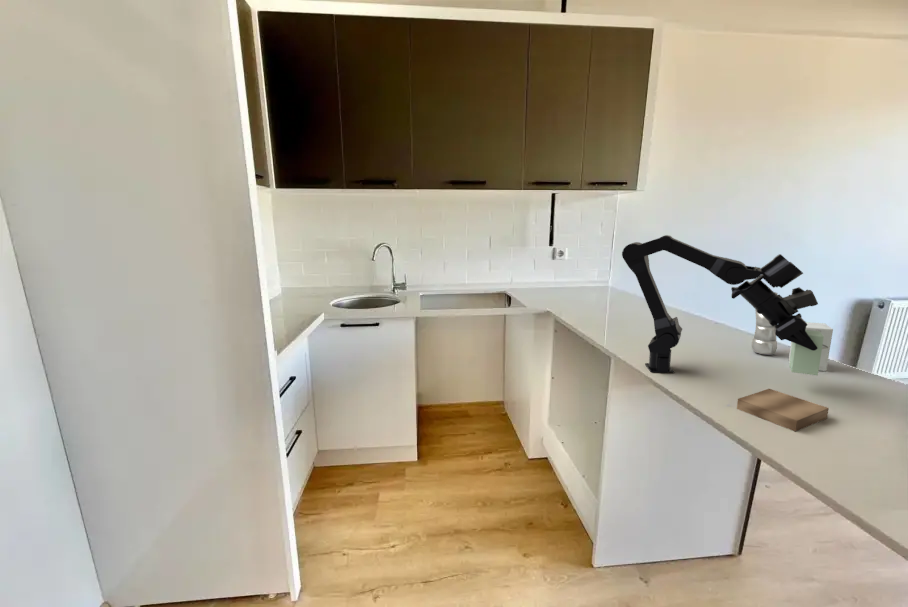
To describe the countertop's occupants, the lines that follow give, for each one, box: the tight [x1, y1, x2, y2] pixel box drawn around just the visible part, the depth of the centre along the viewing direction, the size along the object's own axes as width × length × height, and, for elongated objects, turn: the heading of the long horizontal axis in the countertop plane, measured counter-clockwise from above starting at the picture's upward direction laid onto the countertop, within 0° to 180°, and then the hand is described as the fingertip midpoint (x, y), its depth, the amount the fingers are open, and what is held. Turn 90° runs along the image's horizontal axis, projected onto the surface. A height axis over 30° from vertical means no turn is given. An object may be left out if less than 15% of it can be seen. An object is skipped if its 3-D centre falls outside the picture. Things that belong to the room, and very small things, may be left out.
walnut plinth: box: [736, 388, 829, 432], centre depth 93 cm, size 12×12×2 cm
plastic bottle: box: [751, 291, 778, 356], centre depth 130 cm, size 6×7×20 cm
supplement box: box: [788, 321, 834, 372], centre depth 119 cm, size 7×7×13 cm
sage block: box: [788, 330, 824, 377], centre depth 103 cm, size 5×5×10 cm
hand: (813, 346), depth 102 cm, fingers closed on sage block, 5 cm apart
